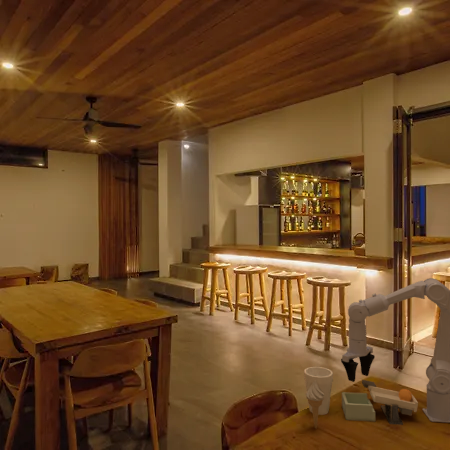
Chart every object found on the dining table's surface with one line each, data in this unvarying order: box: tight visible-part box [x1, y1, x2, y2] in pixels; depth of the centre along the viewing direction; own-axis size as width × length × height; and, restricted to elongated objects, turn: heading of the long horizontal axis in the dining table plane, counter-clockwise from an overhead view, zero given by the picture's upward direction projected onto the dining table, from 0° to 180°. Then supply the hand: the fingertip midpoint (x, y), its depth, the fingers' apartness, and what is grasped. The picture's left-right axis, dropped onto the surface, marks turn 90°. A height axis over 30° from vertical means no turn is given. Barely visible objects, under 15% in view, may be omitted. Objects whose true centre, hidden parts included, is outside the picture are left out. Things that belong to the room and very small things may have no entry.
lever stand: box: [380, 404, 404, 426], centre depth 128 cm, size 4×11×6 cm, turn 171°
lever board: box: [361, 379, 419, 417], centre depth 132 cm, size 14×15×5 cm
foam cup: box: [303, 366, 334, 416], centre depth 132 cm, size 10×9×13 cm
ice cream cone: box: [305, 381, 324, 430], centre depth 121 cm, size 6×6×15 cm
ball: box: [398, 388, 413, 402], centre depth 127 cm, size 4×4×4 cm
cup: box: [341, 391, 376, 422], centre depth 129 cm, size 9×9×5 cm
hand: (358, 377), depth 134 cm, fingers open, 7 cm apart
